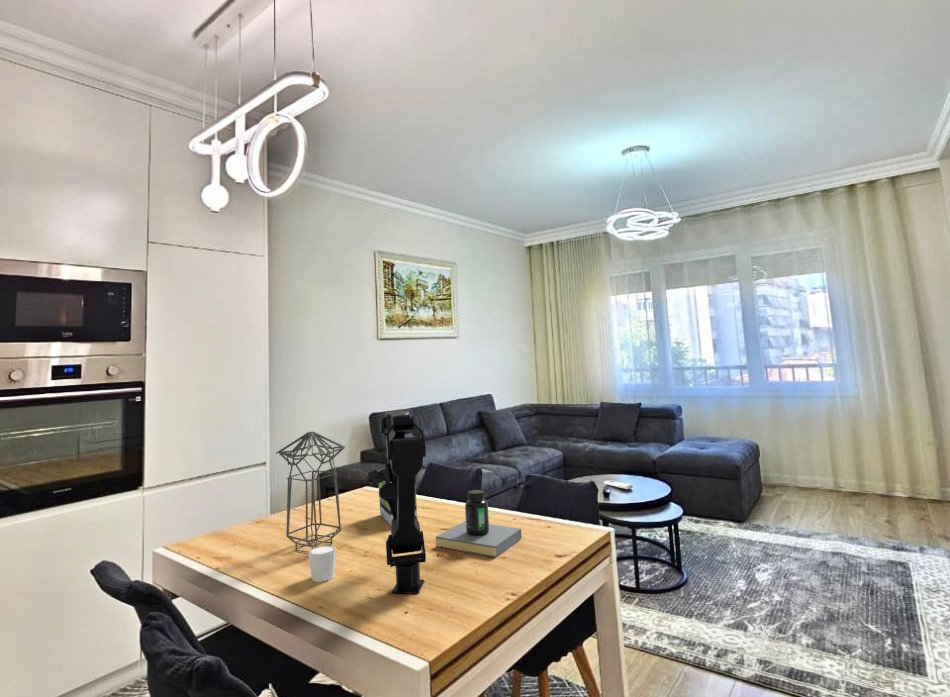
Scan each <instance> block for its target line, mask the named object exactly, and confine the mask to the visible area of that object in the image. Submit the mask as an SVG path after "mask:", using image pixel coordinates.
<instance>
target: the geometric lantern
mask: <svg viewBox="0 0 950 697" xmlns="http://www.w3.org/2000/svg"><path fill="white" fill-rule="evenodd" d="M317 441H318V442H317ZM328 442H330V443H332V444H334V445H335V446H334V447H333V446H331V444H329V443H328ZM296 443H297V444H296ZM318 443H320V444H318ZM295 444H296V445H295ZM293 445H295V446H294V448H292V449H291V450H287V449H288V448H290V447H291V446H293ZM306 445H307V446H306ZM314 447H316V448H317V450H318V452H314ZM322 448H323V449H325V450H326V452H325V451H324V450H323V449H322ZM344 449H346V446H345V445H342V444H341V443H338V442H336V441H334V440H332V439H330V438H328V437H327V436H326V437H325V436H323V435H322V434H319V433H317V432H315V431H309V432H306V433H305V434H303V435H302V436H300V437H298V438H296V439H295V440H294V441H292V442H290V443H288V444H287V445H285V446H284V447H282V448H281V449H279V450H278V451H276V452H275V454H276V455H277V454H278V455H280V456H281V457H282V458H283V459H284V461H286V462H287V466H290V470H289V475H288V477H286V480H287V498H286V500H287V501H286V502H287V503H286V534H285V535H286V538H288V540H290V541H291V542H293V544H295V549H294V551H295V550H296V551H295V552H299V551H301V552H300V553H306V552H307V554H308V552H309V551H310V550H308V551H306V550H300V548H299V547H301V546H303V547H305V546H306V547H310V548H311V549H313V548H316V547H318V546H319V545H321V544H324V543H325V544H328V545H326V546H333V539H334V538H335V537H336V536H337V535H338V534H339V533H341V532H342V525H341V512H340V510H341V509H340V499H339V486H338V473H337V470H336V465H335V460H334V458H335V457H337V456H338V455H339V454H340V453H341V452H342V451H344ZM305 450H306V451H305ZM310 450H311V454H309V452H310ZM330 450H332V451H330ZM299 451H300V454H298V453H299ZM304 451H305V453H304V454H303V452H304ZM335 452H336V453H335ZM331 454H332V455H331ZM317 455H319V456H320V458H319V457H318V456H317ZM309 456H310V457H314V458H315V459H316V460H317V461H319V462H320V464H319V465H318V467H317V470H315V469H314V468H313V467H312V465H311V464H310V463H309V462H308V461H307V460H306V457H309ZM323 456H324V457H323ZM326 457H327V458H328V460H326ZM289 458H290V459H292V462H291V461H290V459H289ZM325 460H326V461H325ZM295 461H297V462H295ZM302 461H305V463H307V465H308V467H310V469H312V470H308V471H303V472H302V470H301V469H300V467H299V465H298V464H299V463H301V462H302ZM327 463H329V465H330V468H331V471H328V470H327V471H326V470H320V469H321V467H322V466H323V465H325V464H327ZM294 466H295V467H296V468H297V471H299V473H297V474H293V475H292V472H293V468H294ZM308 473H311V478H310V479H307V478H306V477H305V474H308ZM320 473H326V474H327V473H330V474H328V475H325V476H320ZM300 475H301V477H302V478H301V479H300V478H295V477H296V476H300ZM316 475H317V478H315V476H316ZM293 477H294V478H293ZM328 477H333V484H334V493H335V502H336V512H337V519H338V520H337V521H338V525H334V524H327V523H322V505H321V503H322V502H321V485H320V484H321V482H320V480H321V479H323V478H324V479H325V478H328ZM293 480H294V481H300V482H301V481H302V482H305V526H302V527H300V528H297V529H295V530H291V531H290V521H291V520H290V519H291V504H292V503H291V499H292V485H293V483H292V482H293ZM315 481H317V489H318V490H317V492H318V493H317V494H318V514H319V522H318V523H317V513H316V512H317V511H316V497H315V484H314V482H315ZM308 482H311V498H310V499H311V502H310V503H311V504H310V505H311V506H310V507H311V509H310V524H308V523H309V522H308V521H309V520H308V518H309V517H308V515H309V511H308V510H309V508H308V507H309V506H308V501H309V500H308V498H309V496H308V495H309V494H308V493H309V492H308V491H309V490H308ZM313 522H314V523H313ZM313 526H314V529H313ZM320 526H326V527H330V528H336V530H335V531H333V532H330V533H327V534H325V535H324V534H318V531H319V528H320ZM309 527H310V531H311V534H310V535H309ZM301 530H305V537H304V538H300V537H296V536H294V535H293V536H292V535H291V534H294V533H297V532H298V531H301ZM313 530H314V531H313ZM313 537H314V538H313ZM309 538H311V539H309ZM324 538H328V539H325V540H321V539H324ZM296 540H297V541H296ZM313 541H316V542H313ZM317 541H318V542H317ZM300 542H306V543H300ZM310 542H312V543H314V545H313V544H311V543H310ZM306 544H307V545H306ZM298 545H299V546H298ZM304 545H305V546H304ZM297 548H299V549H297ZM301 548H302V547H301Z"/></svg>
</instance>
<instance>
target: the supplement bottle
mask: <svg viewBox="0 0 950 697" xmlns="http://www.w3.org/2000/svg"><path fill="white" fill-rule="evenodd" d="M467 499H468V500H467V501H466V502H465V504H464V506H465V507H464V509H465V511H464V512H465V521H466V532H467V534H469V535H472V536H482V535H485V534H487V533H488V532H489V524H490V520H489V518H490V517H489V504H488V501H487V500H486V499H485V491H484V490H482V489H481V490H480V489H473V490H469V491H467Z"/></svg>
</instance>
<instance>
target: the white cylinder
mask: <svg viewBox="0 0 950 697" xmlns="http://www.w3.org/2000/svg"><path fill="white" fill-rule="evenodd" d="M308 551H309V552H308V553H307V554H308V561H309V569H310V575H311V581H312V580H313V581H315V582H314V583H324V582H323V581H325V582H328V581H330V579H331V580H332V579H334V578H333V577H335V572H336V568H335V567H336V554H337V553H336V552H337V548H336V546H333V545H330V546H327V545H322V546H321V545H320V546H317V547H316V546H315V547H313V549H312V548H311V549H310V550H308ZM327 580H328V581H327ZM313 581H312V582H313Z"/></svg>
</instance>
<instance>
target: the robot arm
mask: <svg viewBox="0 0 950 697" xmlns="http://www.w3.org/2000/svg"><path fill="white" fill-rule="evenodd" d="M384 414H385V415H384V416H382V418H381V420H380V434H382V436H384V437H386V440H385V445H386V455H387V456H386V458H387V462H386V463H385V464H384V466H385V467H382V468H381V469H379V470H377V469H373V470H370V471H368V473H367V475H366V478H367V479H366V482H367V483H369V484H370V488H371V487H375V486H376V485H379V483H381V482H383V481H385V484H384V485H383V486H382V487H381V488H380V489H379V488H378V497H381V498H382V499H383V500H385V501H387V502H388V504H389V506H390V509H391V512H392V515H393V519H392V525H390V534H388V537H387V539H386V540H385V551H386V565H387V566H390V568H393V567H395V579H396V580H395V581H396V582H395V585H394V587H393V588H392V590H391V593H392V594H419V593H420V592H421V590H422V587H423V585H424V584H425V579H421V570H420V569H421V568H420V563H422V564H423V563H426V562H427V561H426V560H427V554H426V547H425V539H424V538H425V537H424V531H423V530H421V526H420V522H419V520H418V516H417V517H416V516H415V488H416V489H417V485H418V482H419V472H420V471H421V470H423V467H424V458H426V456H427V450H426V448H427V447H426V441H425V440H426V439H425V435H424V434H425V433H424V431H423V429H421V428H420V426H418V425H417V423H415V419H414V415H413V414H410V412H409V411H408V410H399V411H397V410H396V411H386V412H385V413H384ZM406 435H413V437H407V436H406ZM390 482H392V483H390ZM416 552H419V553H416ZM410 553H411V554H410ZM400 554H405V555H400ZM393 555H397V556H393Z"/></svg>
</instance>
